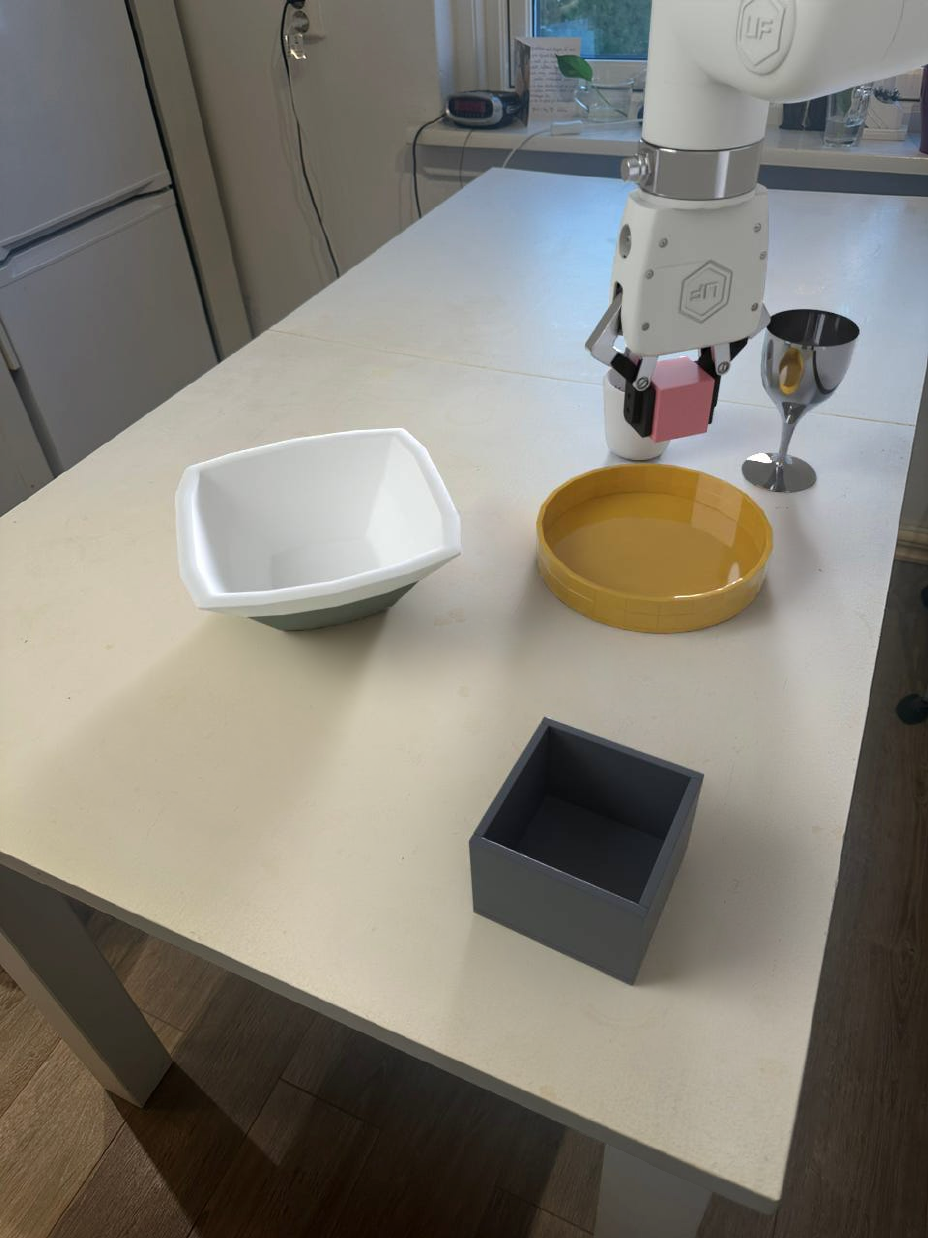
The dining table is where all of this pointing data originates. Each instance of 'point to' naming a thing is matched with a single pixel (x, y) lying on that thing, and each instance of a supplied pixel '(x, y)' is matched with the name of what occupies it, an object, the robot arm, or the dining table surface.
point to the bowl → (313, 528)
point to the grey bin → (584, 846)
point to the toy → (680, 399)
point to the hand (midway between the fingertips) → (668, 420)
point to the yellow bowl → (653, 547)
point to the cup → (624, 424)
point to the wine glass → (799, 384)
